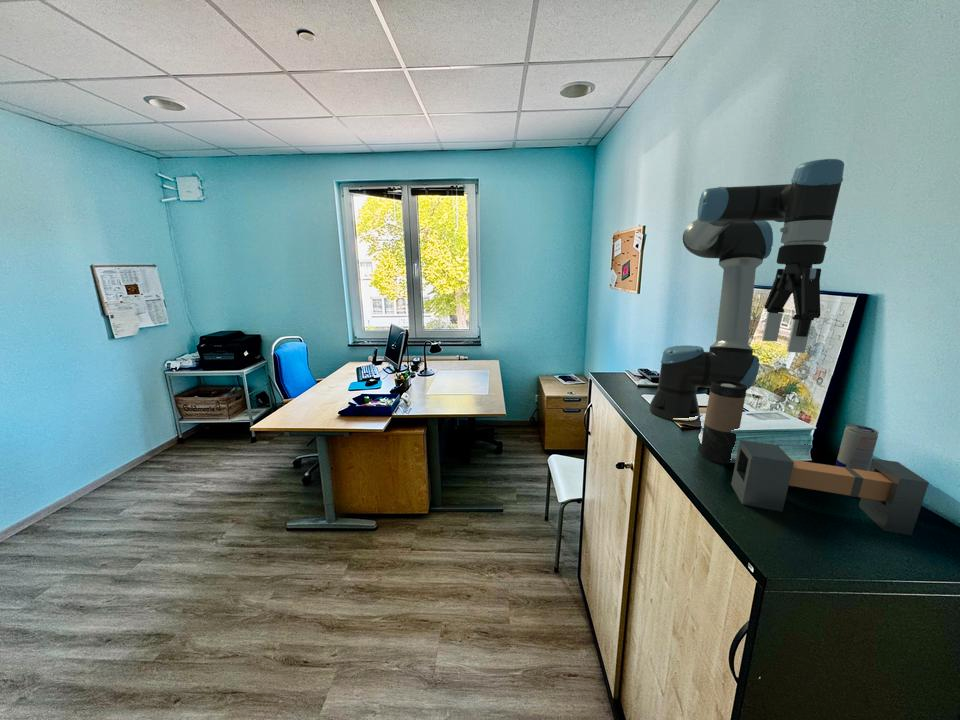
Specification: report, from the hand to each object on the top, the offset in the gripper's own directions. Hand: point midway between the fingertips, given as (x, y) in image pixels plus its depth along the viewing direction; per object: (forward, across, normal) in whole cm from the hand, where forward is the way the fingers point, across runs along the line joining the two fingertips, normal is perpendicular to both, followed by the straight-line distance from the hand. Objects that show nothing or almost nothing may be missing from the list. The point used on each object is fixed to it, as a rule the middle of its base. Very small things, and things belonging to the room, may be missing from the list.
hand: (781, 346), depth 82 cm
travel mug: (+32, -8, -6) cm, 33 cm away
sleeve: (+31, +10, -3) cm, 33 cm away
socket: (+31, +10, +19) cm, 38 cm away
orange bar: (+27, +10, +8) cm, 30 cm away
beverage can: (+32, -1, +18) cm, 36 cm away
